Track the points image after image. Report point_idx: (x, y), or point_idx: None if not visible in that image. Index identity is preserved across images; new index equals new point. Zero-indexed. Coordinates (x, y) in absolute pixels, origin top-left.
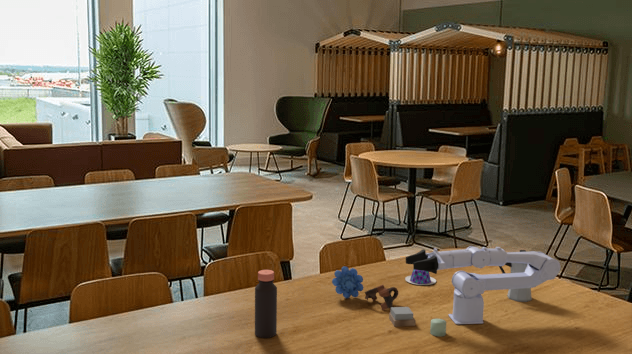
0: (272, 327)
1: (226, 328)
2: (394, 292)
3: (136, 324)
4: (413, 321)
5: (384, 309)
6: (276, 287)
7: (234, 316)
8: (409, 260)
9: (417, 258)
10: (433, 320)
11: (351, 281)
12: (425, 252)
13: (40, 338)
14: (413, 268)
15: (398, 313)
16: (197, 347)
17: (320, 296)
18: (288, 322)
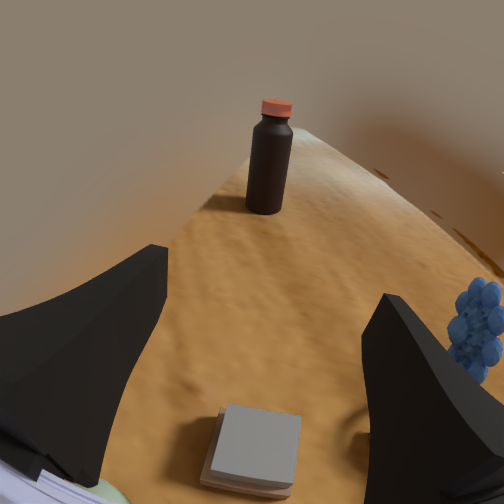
0: (248, 192)
1: (295, 187)
2: None
3: (318, 156)
4: (201, 473)
5: (369, 438)
6: (269, 132)
7: (338, 201)
8: (378, 340)
9: (405, 407)
10: (107, 494)
11: (465, 326)
12: (478, 478)
13: (295, 132)
14: (164, 291)
15: (230, 416)
16: (243, 165)
17: (450, 315)
18: (306, 236)
